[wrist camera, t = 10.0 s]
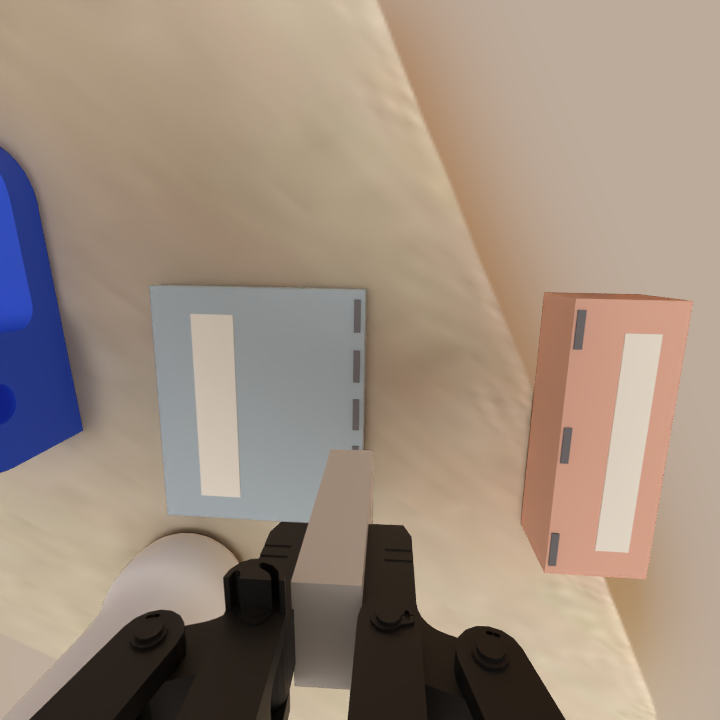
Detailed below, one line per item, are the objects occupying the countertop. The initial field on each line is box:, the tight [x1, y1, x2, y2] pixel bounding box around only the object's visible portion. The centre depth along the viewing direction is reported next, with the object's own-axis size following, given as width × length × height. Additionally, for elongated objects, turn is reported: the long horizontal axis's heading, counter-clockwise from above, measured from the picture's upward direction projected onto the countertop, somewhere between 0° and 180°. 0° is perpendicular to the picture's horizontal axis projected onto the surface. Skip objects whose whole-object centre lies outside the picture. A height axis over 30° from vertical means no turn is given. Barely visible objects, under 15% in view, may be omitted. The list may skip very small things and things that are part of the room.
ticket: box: [149, 284, 367, 523], centre depth 27 cm, size 14×12×2 cm
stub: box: [521, 292, 693, 579], centre depth 24 cm, size 14×5×5 cm, turn 179°
